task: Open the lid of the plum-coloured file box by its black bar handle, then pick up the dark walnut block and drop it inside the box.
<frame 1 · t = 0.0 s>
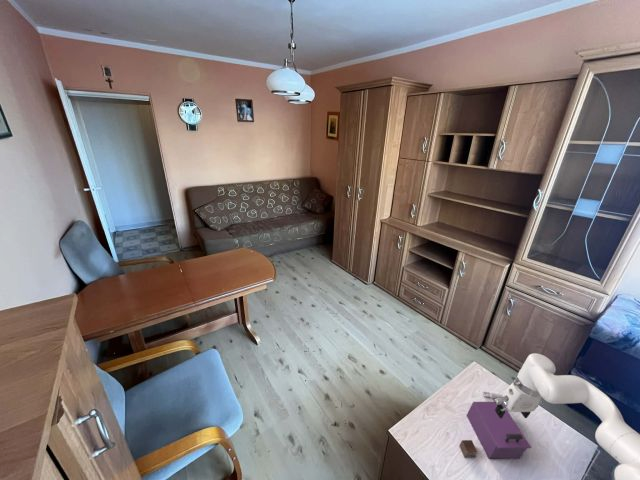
hand: (510, 414, 100), 29 cm above the table, tool pointing down, fingers open, 9 cm apart
tablet stand: (493, 403, 134), on the table
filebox: (491, 435, 120), on the table
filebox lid: (501, 420, 114), point 12 cm above the table, hinge at 0.0°
block: (466, 451, 114), on the table
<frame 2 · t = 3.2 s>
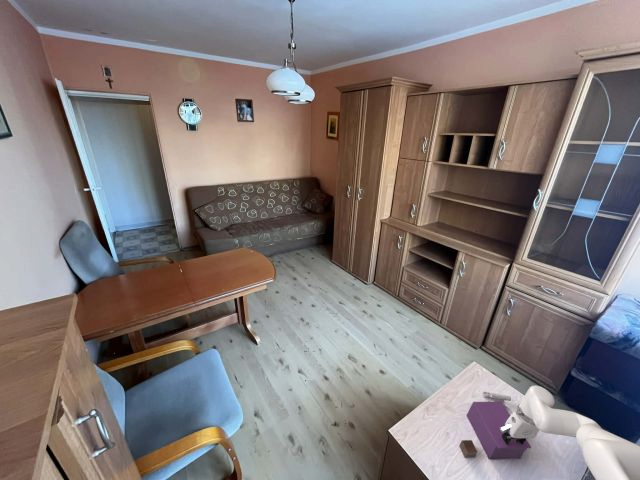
hand: (512, 440, 108), 11 cm above the table, tool pointing down, fingers closed on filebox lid, 5 cm apart
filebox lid: (501, 420, 114), point 12 cm above the table, hinge at 0.0°, touching gripper
everything else where it was.
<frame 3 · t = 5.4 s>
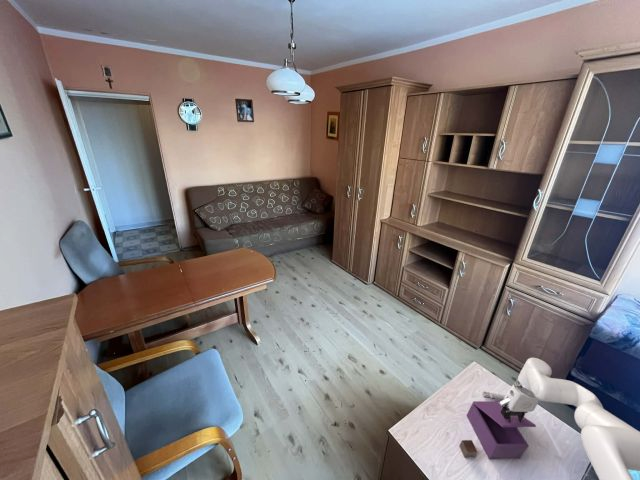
hand: (511, 415, 109), 20 cm above the table, tool pointing down, fingers closed on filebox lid, 5 cm apart
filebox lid: (501, 408, 114), point 17 cm above the table, hinge at 32.3°, touching gripper
everything else where it was.
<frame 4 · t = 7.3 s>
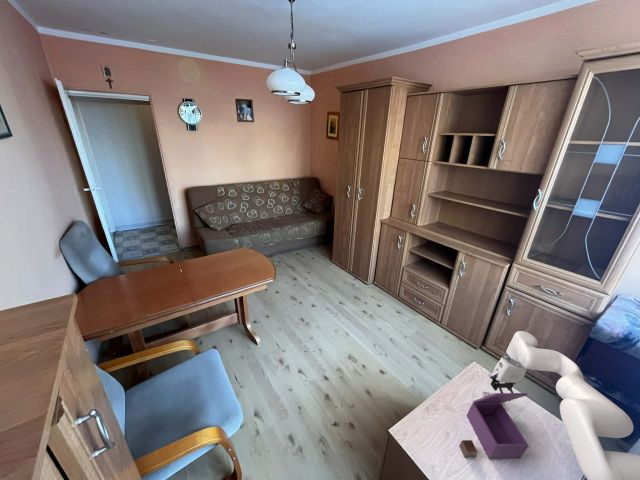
hand: (500, 387, 115), 24 cm above the table, tool pointing down, fingers closed on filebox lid, 5 cm apart
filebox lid: (496, 393, 117), point 20 cm above the table, hinge at 66.5°, touching gripper
everything else where it was.
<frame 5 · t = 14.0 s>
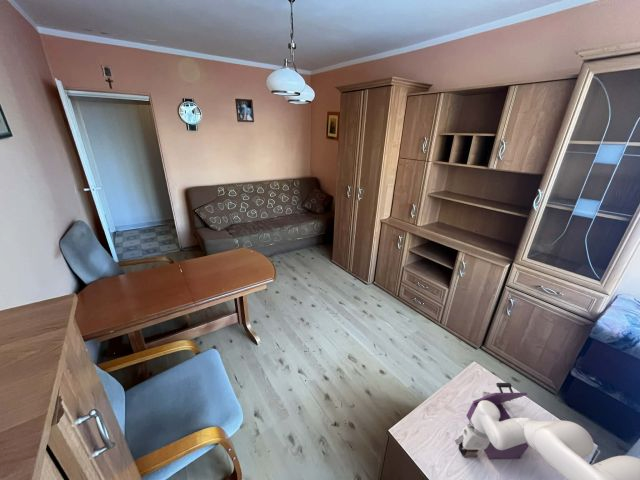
hand: (466, 451, 113), 0 cm above the table, tool pointing down, fingers closed on block, 4 cm apart
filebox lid: (496, 392, 117), point 20 cm above the table, hinge at 67.1°
block: (466, 451, 114), on the table, touching gripper
everything else where it was.
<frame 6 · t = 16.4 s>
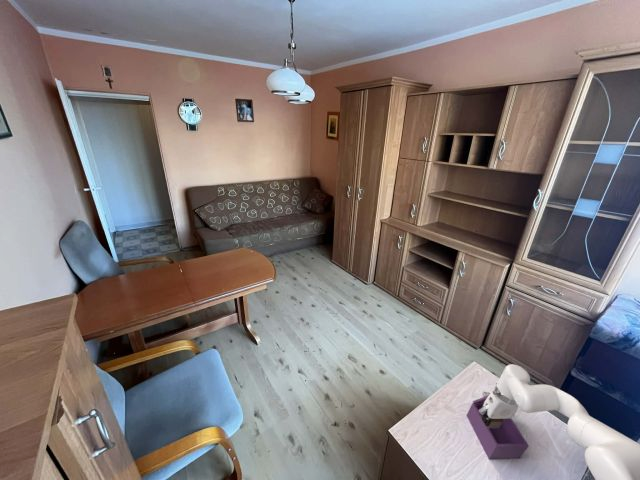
hand: (490, 422, 106), 19 cm above the table, tool pointing down, fingers closed on block, 4 cm apart
block: (490, 422, 107), point 19 cm above the table, touching gripper
everything else where it was.
when the fingers open (15 cm above the table, at t = 18.9 s): block drops 14 cm, resting on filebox.
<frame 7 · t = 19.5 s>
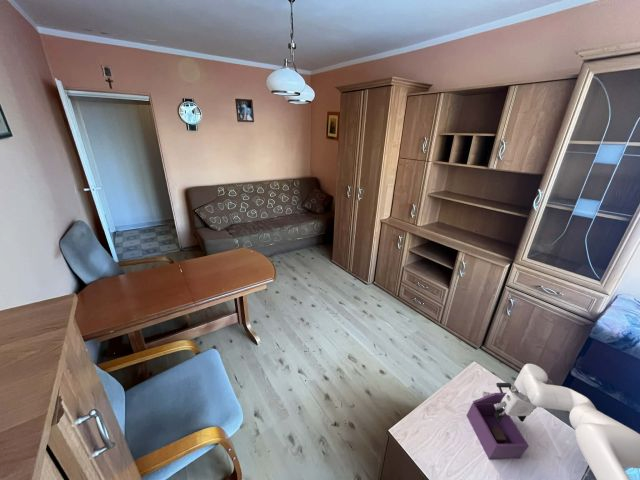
hand: (508, 418, 110), 17 cm above the table, tool pointing down, fingers open, 9 cm apart
block: (494, 439, 118), point 1 cm above the table, touching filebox
everything else where it was.
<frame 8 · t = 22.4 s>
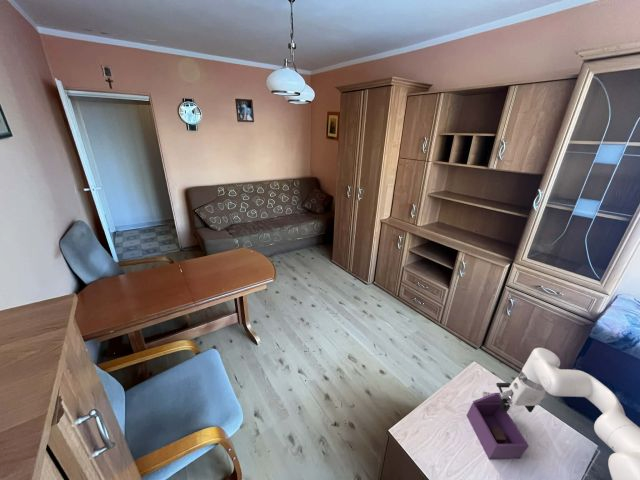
hand: (515, 408, 101), 30 cm above the table, tool pointing down, fingers open, 9 cm apart
nothing on the table moved.
at the end: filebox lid at +67° (first picture: +0°); block inside the target area in the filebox (2.0 cm from its centre), point 0.9 cm above the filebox's base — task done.
